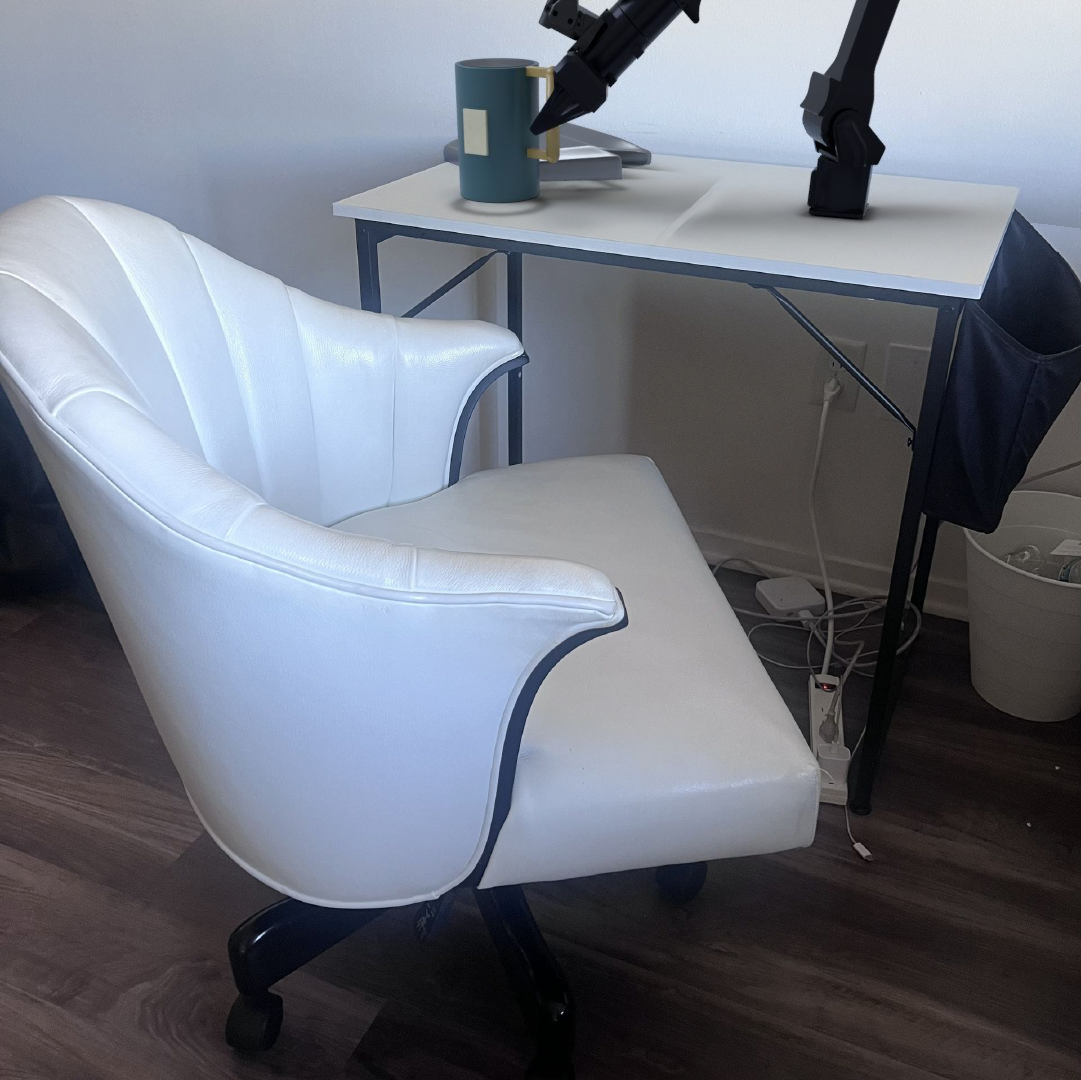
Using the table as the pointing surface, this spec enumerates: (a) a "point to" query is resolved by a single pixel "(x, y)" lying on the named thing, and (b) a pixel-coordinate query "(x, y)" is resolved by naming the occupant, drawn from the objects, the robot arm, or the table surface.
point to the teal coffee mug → (501, 128)
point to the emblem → (581, 155)
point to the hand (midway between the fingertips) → (535, 127)
